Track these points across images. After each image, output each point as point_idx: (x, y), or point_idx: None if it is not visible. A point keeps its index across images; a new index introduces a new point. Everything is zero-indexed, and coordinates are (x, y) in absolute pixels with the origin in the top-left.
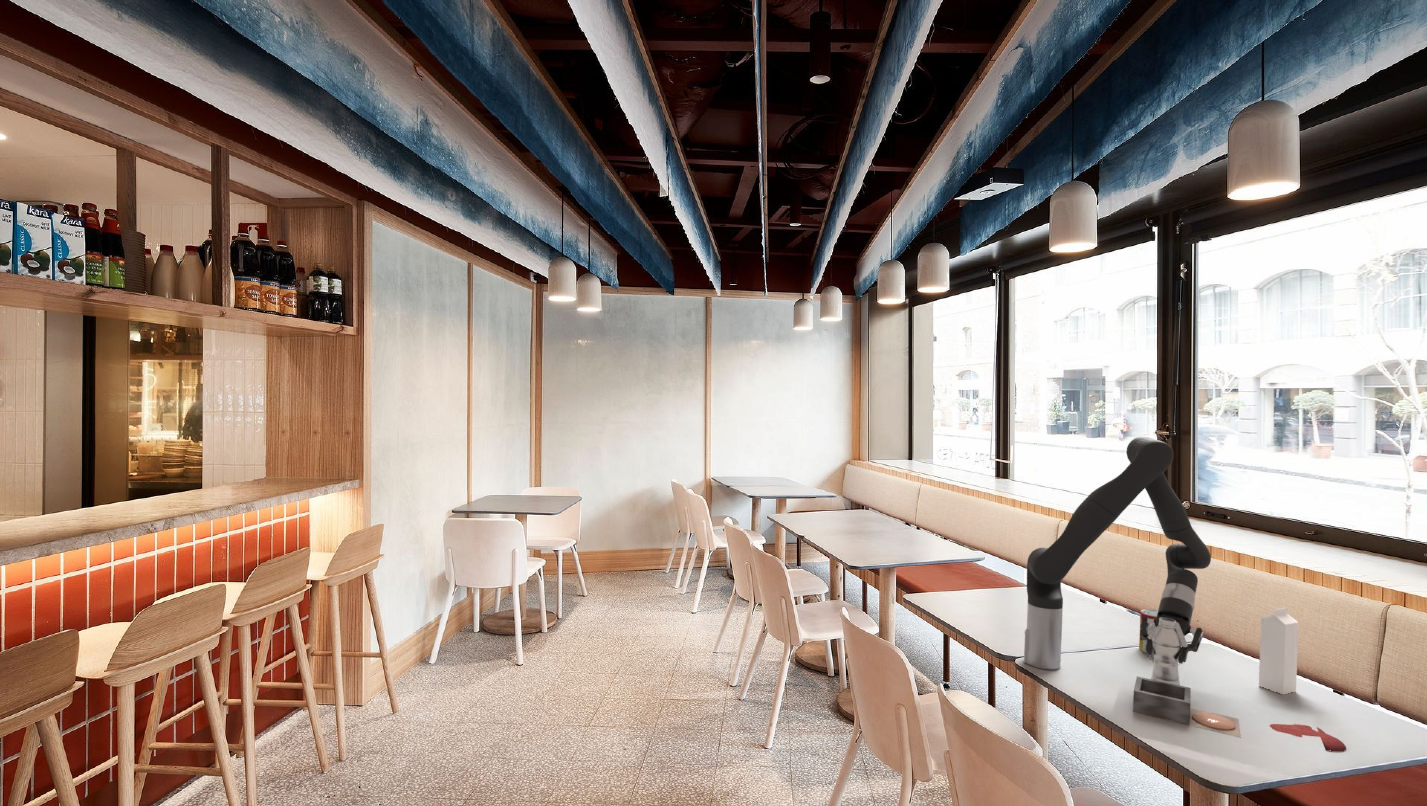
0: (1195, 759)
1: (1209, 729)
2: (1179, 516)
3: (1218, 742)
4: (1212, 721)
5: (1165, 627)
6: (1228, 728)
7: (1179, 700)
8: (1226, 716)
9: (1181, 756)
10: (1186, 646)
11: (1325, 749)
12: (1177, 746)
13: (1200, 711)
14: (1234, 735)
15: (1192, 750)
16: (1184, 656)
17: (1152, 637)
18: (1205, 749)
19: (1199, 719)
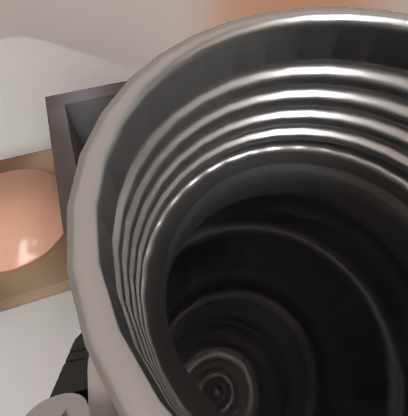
0: (46, 63)
1: (21, 158)
2: None
3: (8, 155)
4: (12, 201)
5: (262, 133)
6: None
7: (76, 92)
8: None
9: (69, 57)
10: (37, 412)
11: None
12: (82, 82)
13: (54, 268)
14: None
15: (55, 86)
16: (80, 344)
17: (368, 249)
18: (33, 106)
19: (47, 184)
